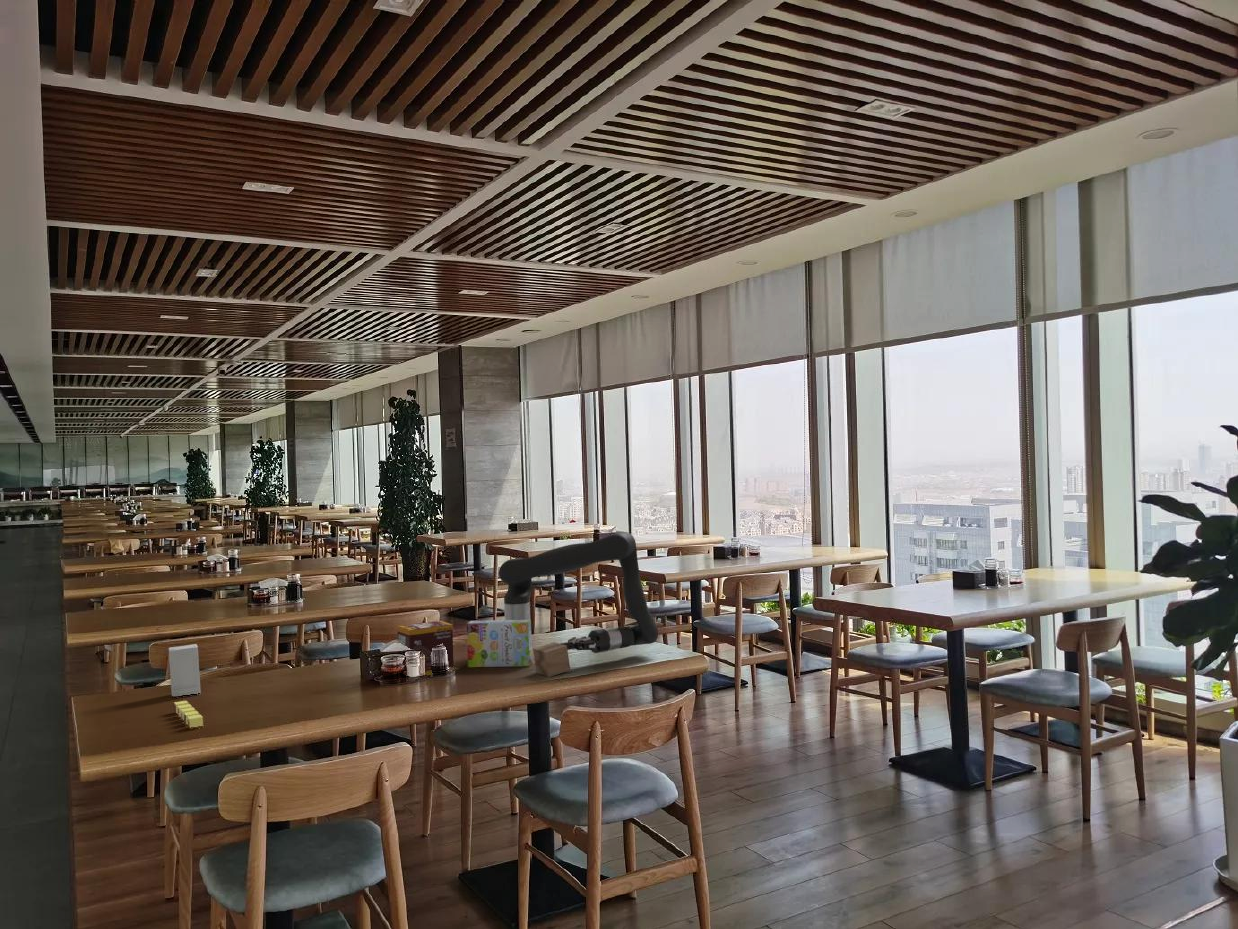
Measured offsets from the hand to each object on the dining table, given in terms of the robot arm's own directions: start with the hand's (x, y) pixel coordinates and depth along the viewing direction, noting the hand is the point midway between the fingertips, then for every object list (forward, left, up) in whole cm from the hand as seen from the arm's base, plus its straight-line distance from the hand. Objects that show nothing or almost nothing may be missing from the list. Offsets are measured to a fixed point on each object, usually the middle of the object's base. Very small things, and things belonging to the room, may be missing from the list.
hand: (561, 647), depth 300 cm
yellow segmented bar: (-20, -110, -9) cm, 112 cm away
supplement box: (-30, -34, -8) cm, 46 cm away
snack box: (-22, -11, -8) cm, 26 cm away
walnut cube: (0, -3, -7) cm, 8 cm away
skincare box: (-53, -103, -8) cm, 116 cm away
